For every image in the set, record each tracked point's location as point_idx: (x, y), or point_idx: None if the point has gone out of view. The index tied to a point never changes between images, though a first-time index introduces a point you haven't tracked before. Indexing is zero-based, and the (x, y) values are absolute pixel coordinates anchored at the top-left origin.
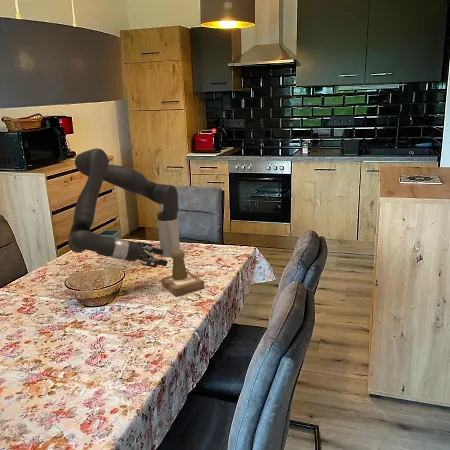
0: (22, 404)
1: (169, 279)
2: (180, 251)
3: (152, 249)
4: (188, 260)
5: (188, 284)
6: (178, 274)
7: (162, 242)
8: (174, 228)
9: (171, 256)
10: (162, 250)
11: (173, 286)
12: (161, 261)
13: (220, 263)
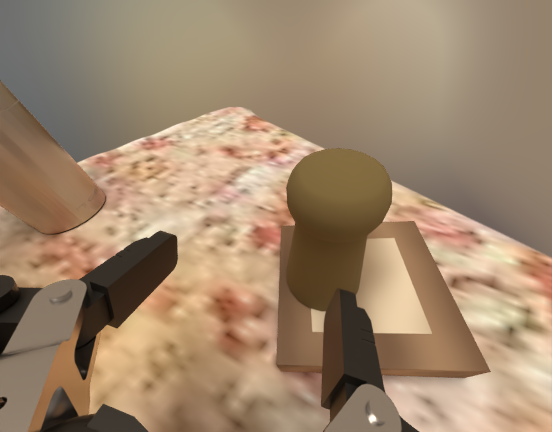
0: None
1: (322, 330)
2: (363, 158)
3: (83, 318)
4: (164, 195)
5: (430, 281)
6: (359, 279)
7: (13, 194)
8: (20, 116)
9: (333, 234)
10: (171, 238)
11: (434, 360)
12: (362, 353)
13: (252, 155)
